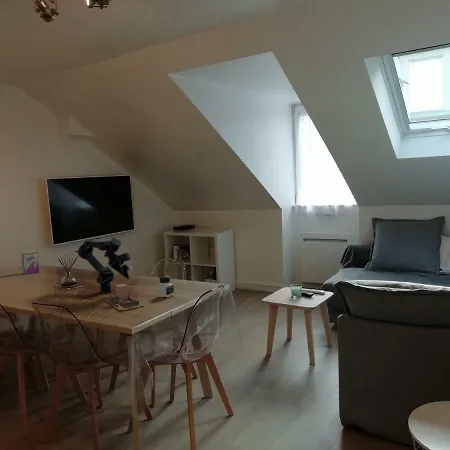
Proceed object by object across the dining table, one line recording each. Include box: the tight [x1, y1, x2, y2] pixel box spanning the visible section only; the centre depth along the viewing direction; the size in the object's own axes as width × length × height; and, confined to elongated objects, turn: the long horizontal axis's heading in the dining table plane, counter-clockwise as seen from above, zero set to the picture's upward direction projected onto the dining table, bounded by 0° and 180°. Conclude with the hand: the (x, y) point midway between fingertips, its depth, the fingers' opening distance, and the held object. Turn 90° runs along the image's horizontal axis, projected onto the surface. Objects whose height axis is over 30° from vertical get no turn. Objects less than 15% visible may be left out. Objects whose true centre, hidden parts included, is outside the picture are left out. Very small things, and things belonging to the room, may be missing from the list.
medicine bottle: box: [156, 275, 175, 295], centre depth 268 cm, size 7×7×12 cm
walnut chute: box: [105, 293, 140, 309], centre depth 256 cm, size 24×14×4 cm, turn 32°
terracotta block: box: [115, 283, 129, 302], centre depth 258 cm, size 5×5×9 cm
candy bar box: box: [20, 250, 40, 275], centre depth 349 cm, size 11×5×16 cm, turn 130°
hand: (125, 276), depth 268 cm, fingers open, 9 cm apart
